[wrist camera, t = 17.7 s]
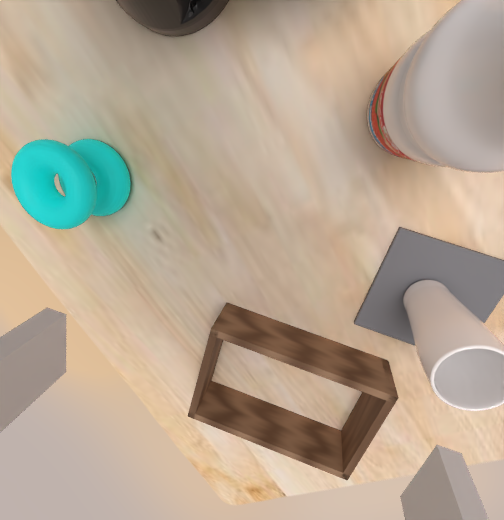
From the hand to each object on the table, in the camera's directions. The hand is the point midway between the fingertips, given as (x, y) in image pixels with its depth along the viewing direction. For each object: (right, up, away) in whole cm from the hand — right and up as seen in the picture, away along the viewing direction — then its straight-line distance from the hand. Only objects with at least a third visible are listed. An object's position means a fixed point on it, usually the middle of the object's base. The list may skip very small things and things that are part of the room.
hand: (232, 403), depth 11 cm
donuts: (-20, +16, +34) cm, 43 cm away
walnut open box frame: (+6, -12, +38) cm, 41 cm away
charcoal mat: (+23, +1, +30) cm, 37 cm away
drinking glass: (+22, 0, +29) cm, 37 cm away
